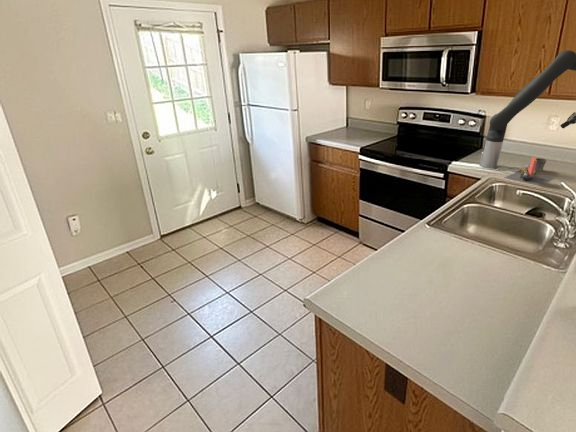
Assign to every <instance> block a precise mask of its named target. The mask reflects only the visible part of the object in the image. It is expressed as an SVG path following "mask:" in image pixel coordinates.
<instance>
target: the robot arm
mask: <svg viewBox="0 0 576 432" xmlns="http://www.w3.org/2000/svg"><path fill="white" fill-rule="evenodd" d="M568 70H571V71H575V72H576V51H573V50H564V51H561V52H560V53H558V54H557V55H556V57H555V59H554V60H553V61H552V62H551V63H550V64H549V66H548V67H547V68H546V69H544V70H543V71H541V73H540V74H538V75H537V76H535V77H534V78H533V79H532V80H531V81H529V82H528V83H527V84H526V85H525V86H523V88H522V89H520V90H519V91H518V92H517V94H515V96H514V97H513V98H512V100H511V101H510V102H509V103H508V104H507V105H506V106H505V107H504V108H502V110H501V111H499V112H498V113H495V114H494V115H493V116H492V117H491V118H490V120H489V127H488V132H487V135H486V140H485V144H484V149H483V151H482V152H481V156H480V161H479V167H482V168H483V169H488V170H496V169H497V168H498V166H499V161H500V156H501V153H502V148H503V144H504V139H505V136H506V131H507V126H508V124H509V123H510V122H511V121H512V120H513V119H514V117H516V115H517V114H519V113H520V112H522V111H523V110H524V109H526V108H527V107H528V106H530V105H531V104H532V103H533V102H535V100H536V99H538V98H539V97H540V96H541V95H542V94H543V93H544V92H545V91H546V90H547V89H548V88H549V86H550V85H552V83H553V82H554V81H555V80H557V78H559V77H560V76H561V75H562V74H564V73H565V72H567V71H568ZM575 124H576V112H572V113H571V115H569V117H568V118H567V120H566V121H564V122H563V123H562V124H559V126H560V127H561V129H565V128H567V127H568V126H570V125H575Z"/></svg>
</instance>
